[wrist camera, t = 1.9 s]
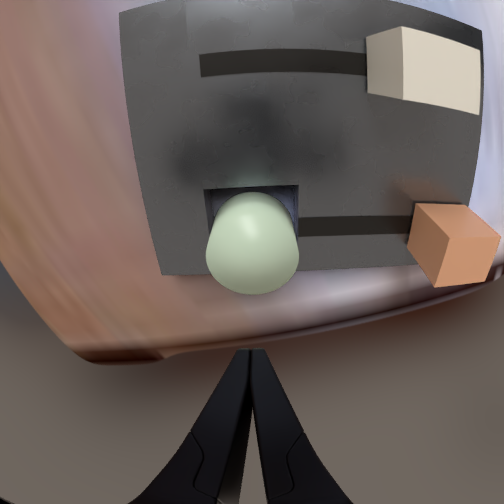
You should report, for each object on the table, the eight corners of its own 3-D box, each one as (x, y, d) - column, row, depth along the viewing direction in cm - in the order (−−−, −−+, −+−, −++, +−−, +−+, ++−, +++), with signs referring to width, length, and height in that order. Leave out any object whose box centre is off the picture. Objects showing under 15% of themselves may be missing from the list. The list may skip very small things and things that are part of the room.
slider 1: (433, 50, 10) (479, 50, 7) (433, 102, 12) (478, 115, 9) (365, 36, 11) (401, 26, 7) (367, 92, 12) (403, 99, 9)
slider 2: (465, 204, 15) (501, 236, 12) (454, 245, 17) (484, 281, 13) (415, 203, 15) (449, 238, 12) (406, 247, 17) (434, 287, 14)
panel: (463, 31, 11) (482, 30, 9) (440, 247, 19) (453, 262, 18) (133, 18, 12) (118, 12, 10) (169, 257, 20) (161, 275, 19)
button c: (292, 190, 15) (300, 214, 13) (292, 260, 18) (297, 292, 15) (209, 194, 16) (199, 219, 13) (218, 263, 18) (212, 295, 15)
